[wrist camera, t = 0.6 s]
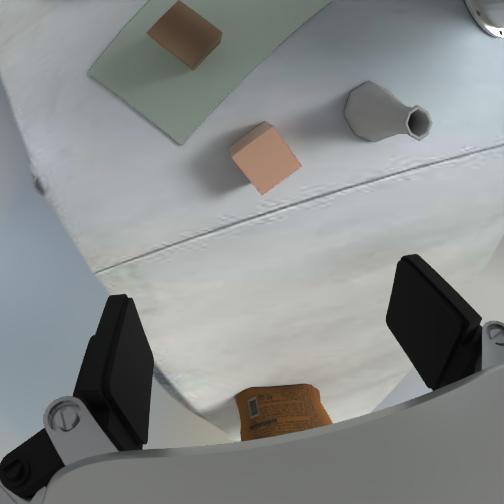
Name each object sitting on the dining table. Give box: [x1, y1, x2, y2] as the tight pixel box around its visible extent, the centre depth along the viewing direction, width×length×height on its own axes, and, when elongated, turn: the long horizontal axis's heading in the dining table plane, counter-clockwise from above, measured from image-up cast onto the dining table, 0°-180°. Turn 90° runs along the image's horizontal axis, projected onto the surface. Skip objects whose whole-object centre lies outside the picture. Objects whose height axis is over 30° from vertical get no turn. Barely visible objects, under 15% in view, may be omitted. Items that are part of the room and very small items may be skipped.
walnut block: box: [146, 0, 223, 71], centre depth 24 cm, size 4×5×7 cm
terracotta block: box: [228, 121, 302, 195], centre depth 32 cm, size 5×5×5 cm
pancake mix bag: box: [234, 384, 333, 442], centre depth 43 cm, size 7×19×28 cm, turn 85°
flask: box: [343, 81, 432, 142], centre depth 29 cm, size 7×7×10 cm
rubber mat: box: [88, 0, 332, 146], centre depth 26 cm, size 24×14×1 cm, turn 137°
